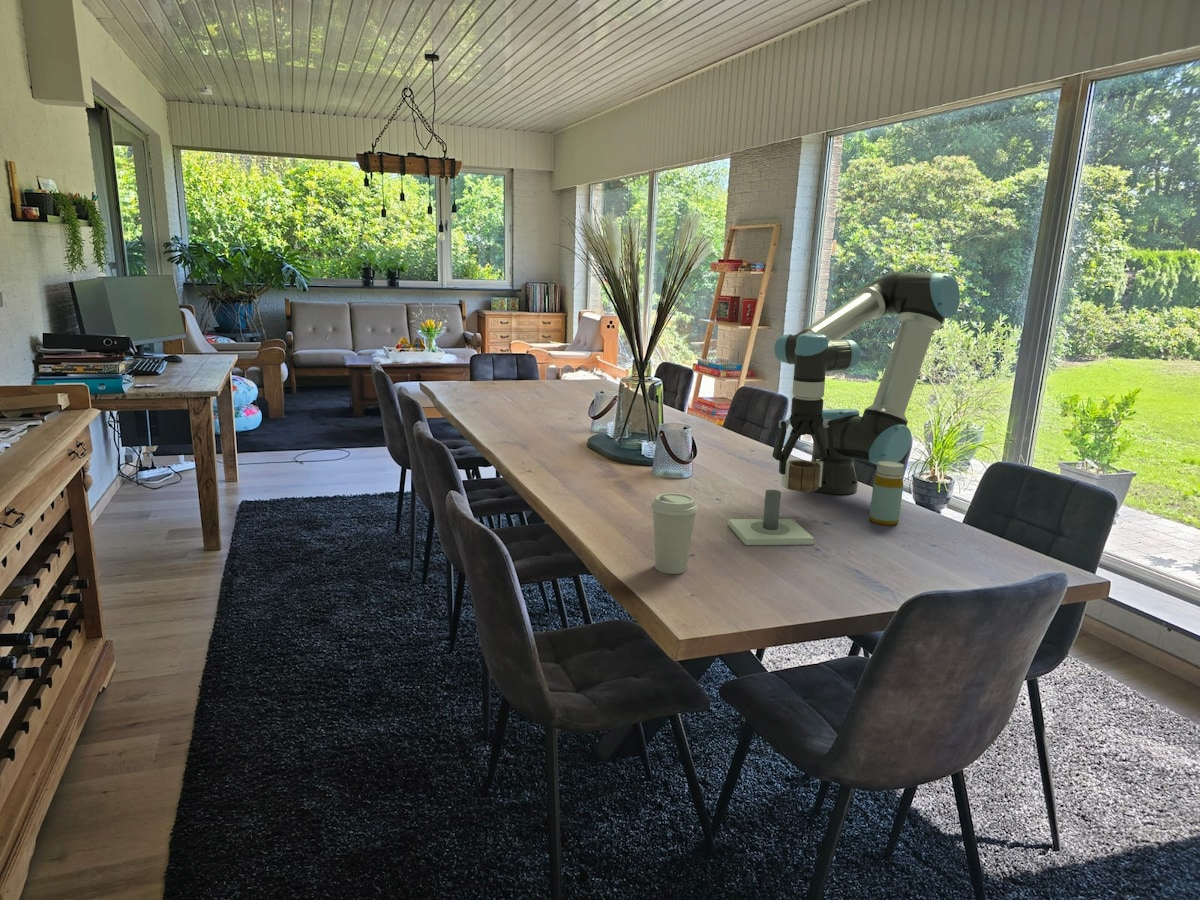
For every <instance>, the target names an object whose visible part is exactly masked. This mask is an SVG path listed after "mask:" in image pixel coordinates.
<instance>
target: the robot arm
mask: <svg viewBox="0 0 1200 900" xmlns="http://www.w3.org/2000/svg"><path fill="white" fill-rule="evenodd" d="M960 293H961V291H960V288H959V283H958V281H957V280H956V278H955V277H954V276H953V275H951V274H948V273H943V272H942V273H941V272H938V271H937V272H907V271H904V272H903V271H900V272H894V273H891V274H887V275H885V276H883V277H880V278H878V279H875V280H874V281H873V282H871V283H868V284H867V285H866V286H864V287H862V288H860V289H859V290H858V291H857V292H856V294H855V296H854V297H853V298H852V299H850V300H848V301H847V302H845V303H843V304H842V305H841V306H839V307H837V308H836V309H834V310H833V311H831V312H829V313H828V314H827V315H824V316H823V317H821V318H820V319H819V320H816V321H815V322H814V323H812V324H811V325H809V326H808V327H806V328H804V329H803V330H801V331H799V332H798V333H797V334H791V333H790V334H783V335H781V336H779V337H778V338H777V339H776V340H775V341H776V342H775V344H774V349H773V351H774V355H775V358H776V359H777V360H778V361H779V362H781V363H785V364H788V365H794V368H793V370H794V372H793V379H792V380H793V382H792V396H793V397H792V398H791V410H790V411H791V414H790V417H789V418H788V419H784V420H782V419H778V421H777V425H778V427H777V428H778V430H777V433H776V434H777V435H776V438H775V439H776V440H775V443H774V448H773V451H772V458H773V459H774V460H776V461H779V464H778V467H779V468H778V472H779V474H781V486H782V487H783V488H785V489H787V488H788V480H789V466H790V463H789V462H788V461H789V457H790V456H791V454H792V451H793V450H794V447H795V446H796V443H797V441H798V440H799V438H801V436H805V435H809V436H811V438H812V441H813V442H812V443H813V444H812V454H811V460H810V461H812V462H816V463H817V464H819V465H820V478H819V489H817V490H815V491H814V492H817V493H821V494H827V495H828V494H830V495H848V494H849V495H850V494H853V493H854V494H855V493H856V492H857V491H858V486H859V485H858V478H857V475H856V470H855V466H854V461H855V460H860V461H865V462H869V463H872V465H873V464H874V465H877V463H878V462H879V461H892V462H898V463H900V461H901V460H903V458H904V457H905V455H906V454H907V452H908V451H909V449H910V446H911V443H912V438H911V436H912V432H911V429H910V428H909V427H908V426H907V425H908V423H909V422H908V419H907V417H906V415H905V413H906V410H907V407H908V405H909V403H910V400H911V396H912V393H913V392H914V388H915V385H916V382H917V380H918V377H919V373H920V371H921V369H922V366H923V362H924V359H925V357H926V354H927V352H928V351H927V350H928V348H929V345H930V342H931V340H932V336H933V334H934V332H935V331H938V330H939V329H941V328H942V326H943V323H944V321H945V319H949V318H952V317H954V315H956V313H957V312H958V309H959V307H960V300H961V294H960ZM887 315H897V318H898V319H899V321H900V326H899V328H898V332H897V334H896V337H895V340H894V343H893V346H892V349H891V352H890V354H889V357H888V361H887V363H886V365H885V368H884V372H883V374H882V377H881V380H880V382H879V386H878V388H877V391H876V394H875V397H874V400H873V403H872V405H870V406H868V407H866V408H864V411H863V414H862V416H861V414H860V410H858V409H854V408H853V409H852V408H831V409H824V399H823V397H824V396H825V387H826V386H825V383H826V382H825V381H826V374H827V372H835V371H846V370H849V369H853V368H854V367H856V366H857V365H858V364H859V362H860V360H861V354H862V353H861V348H860V346H859V344H858V343H857V342H856V341H854V340H852V339H844V337H845V336H847V335H849V334H850V333H853V331H855V330H857V329H858V328H860V327H861V326H862V325H865V324H866V323H867V322H868V321H871V320H877V319H880V318H881V317H882V316H887ZM790 426H791V427H792V428H791V431H790V433H789V437H788V438H787V441H786V443H785V440H786V435H787V429H788V428H789V427H790ZM784 444H785V445H784Z"/></svg>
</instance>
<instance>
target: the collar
mask: <svg viewBox="0 0 1200 900" xmlns="http://www.w3.org/2000/svg"><path fill="white" fill-rule="evenodd" d="M787 461H788V462H789V463H790V466H789V480H788V488H786V489H787V490H789V491H794V492H801V493H802V492H803V493H804V492H805V493H806V492H809V493H810V492H812V493H813V492H816V491H815V490H817V489H819V478H820V465H819V464H817V463H816V462H812V461H811V460H805V459H798V460H797V459H792V460H787Z"/></svg>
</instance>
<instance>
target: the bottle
mask: <svg viewBox="0 0 1200 900" xmlns="http://www.w3.org/2000/svg"><path fill="white" fill-rule="evenodd" d="M904 467H905V465H904V463H901V462H892V461H879V462H878V463H877V464H876V474H875V477H874V479H873V483H872V484H873V485H872V492H871V500H870V501H871V502H870V510H869V519H870V520H871V522H872V523H875V524H878V525H882V526H895V525H896V524H898V523H899V522H900V517H901V516H900V513H901V507H902V506H901V505H902V501H903V500H902V498H903V490H904V480H903V475H904V470H905V468H904Z"/></svg>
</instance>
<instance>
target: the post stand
mask: <svg viewBox="0 0 1200 900" xmlns="http://www.w3.org/2000/svg"><path fill="white" fill-rule="evenodd" d="M781 496H782V492H781V491H780V490H779V489H778V490H777V489H767V490H765V495H764V506H763V507H764V509H763V518H755V519H754V518H751V519H750V518H747V519H744V518H740V519H738V518H736V519H735V518H734V519H733V518H731V519H730V518H729V519H728V527H729V528H730V529H731V530H732V531H733V532H734V533H735V535H736V536H737V538H739V539H740V540H741V542H743V544H744V545H745V546H787V545H788V546H789V545H791V546H793V545H794V546H797V545H799V546H801V545H814V543H815V537H813V536H812V535H811V534H810V533H809V532H808V531H807V530H805V529H804V527H802V526H801V525H800V524H799V523H797V521H795V520H794V519H793V518H780V510H781V509H780V508H781V498H782V497H781Z"/></svg>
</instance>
